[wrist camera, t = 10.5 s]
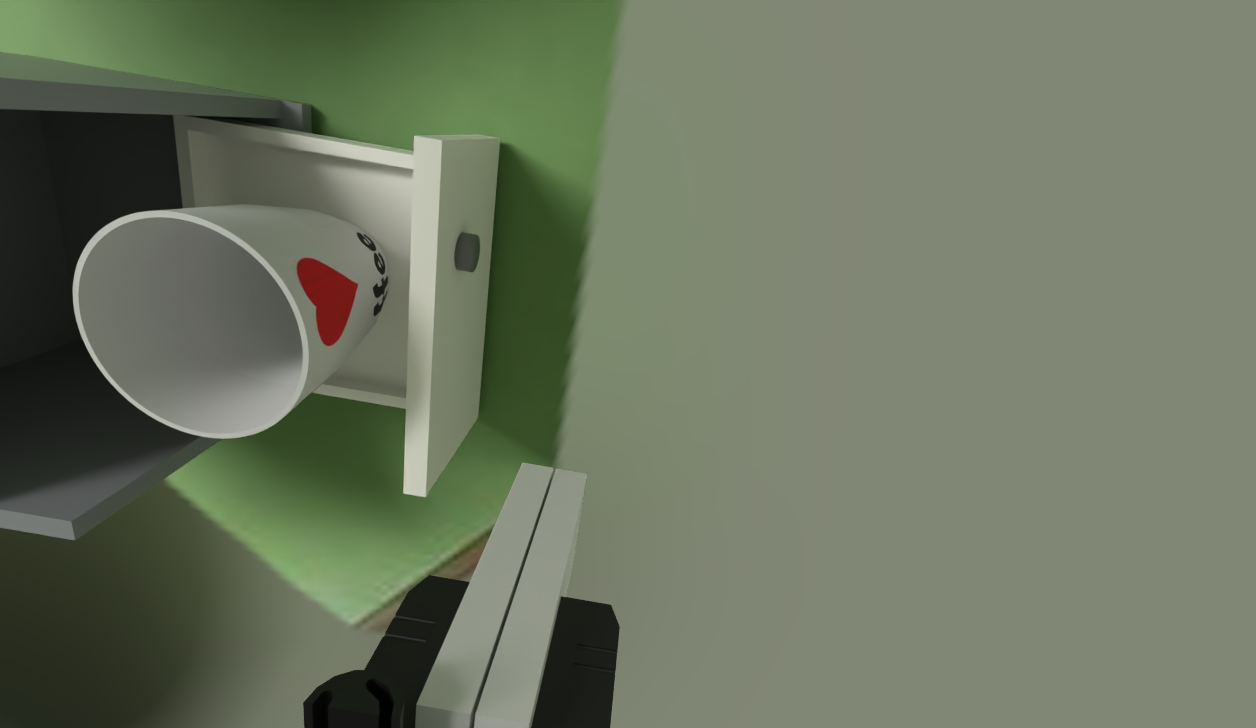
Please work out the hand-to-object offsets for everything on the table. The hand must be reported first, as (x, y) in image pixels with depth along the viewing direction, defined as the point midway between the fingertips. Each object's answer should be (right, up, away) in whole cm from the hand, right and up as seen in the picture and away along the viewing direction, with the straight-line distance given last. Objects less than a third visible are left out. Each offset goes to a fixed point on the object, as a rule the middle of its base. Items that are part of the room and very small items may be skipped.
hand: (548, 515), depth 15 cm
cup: (-12, +8, +15) cm, 21 cm away
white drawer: (-13, +9, +17) cm, 23 cm away
